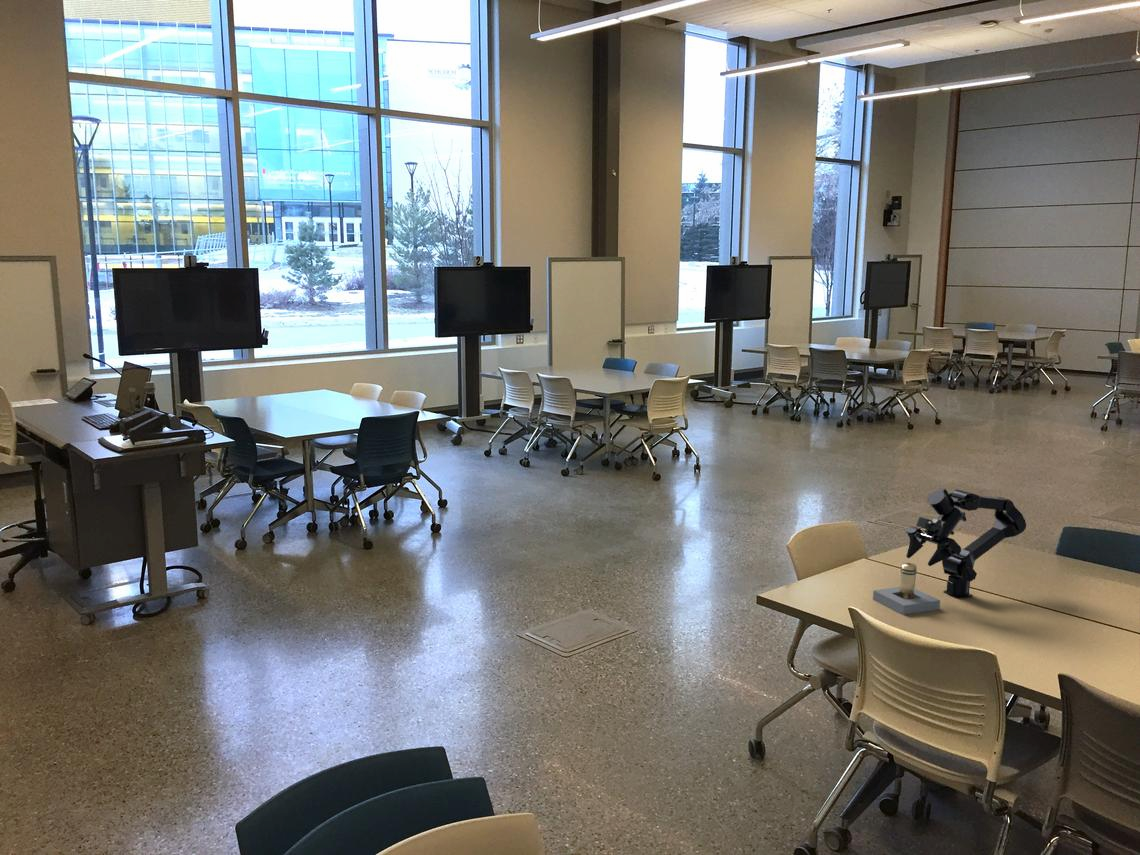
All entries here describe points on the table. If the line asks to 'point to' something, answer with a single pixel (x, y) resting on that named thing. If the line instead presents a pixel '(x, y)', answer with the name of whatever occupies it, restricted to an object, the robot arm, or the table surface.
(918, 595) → the grey square frame
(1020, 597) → the table surface
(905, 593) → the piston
